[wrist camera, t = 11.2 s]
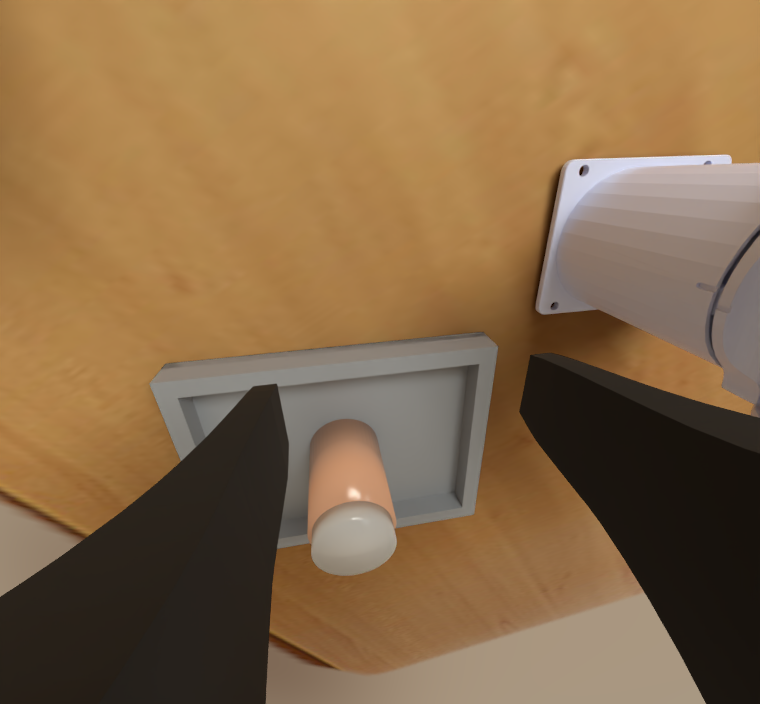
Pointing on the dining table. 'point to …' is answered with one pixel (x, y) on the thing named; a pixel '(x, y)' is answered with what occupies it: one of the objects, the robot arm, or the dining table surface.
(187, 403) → the tray
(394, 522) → the shaker
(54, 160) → the dining table surface
